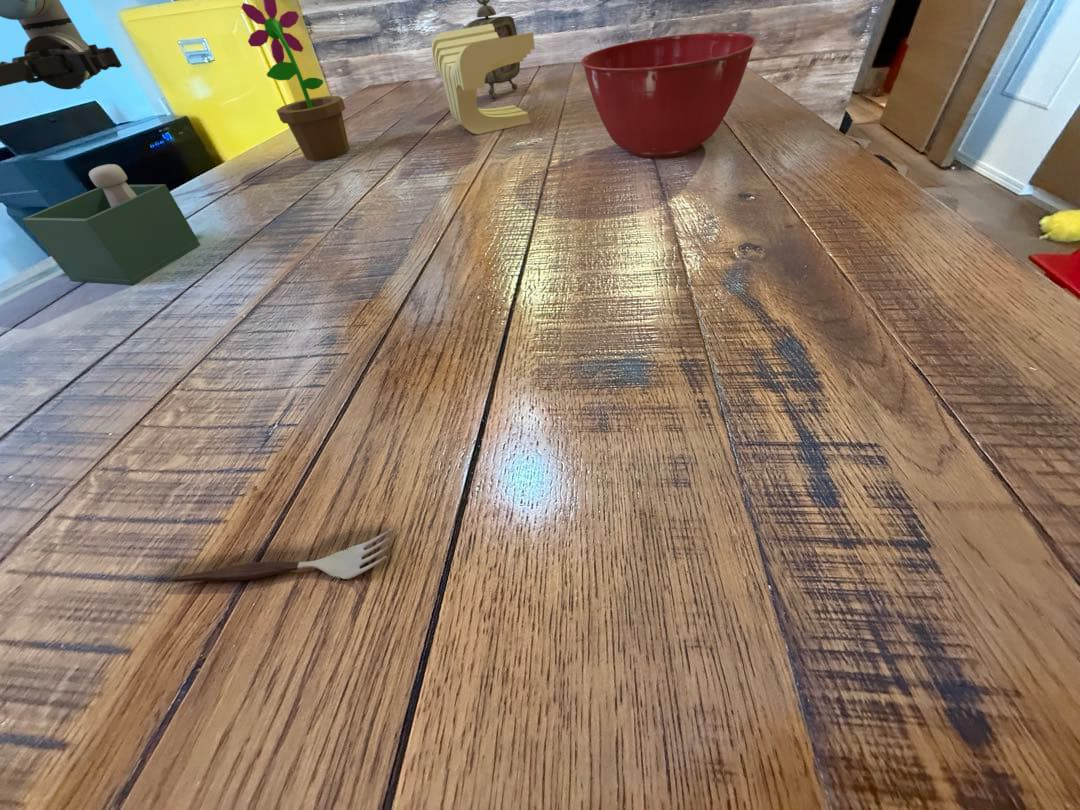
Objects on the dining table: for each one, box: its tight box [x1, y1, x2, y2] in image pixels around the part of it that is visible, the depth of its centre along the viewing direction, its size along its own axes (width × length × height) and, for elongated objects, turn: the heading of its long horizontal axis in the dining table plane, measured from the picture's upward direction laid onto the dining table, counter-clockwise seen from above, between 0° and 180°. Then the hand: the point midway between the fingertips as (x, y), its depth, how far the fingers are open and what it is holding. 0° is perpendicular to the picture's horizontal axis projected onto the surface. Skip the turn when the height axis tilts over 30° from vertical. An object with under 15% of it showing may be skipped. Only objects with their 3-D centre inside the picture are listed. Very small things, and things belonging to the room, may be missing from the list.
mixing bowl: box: [580, 32, 757, 159], centre depth 90 cm, size 28×28×16 cm
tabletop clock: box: [463, 0, 521, 101], centre depth 138 cm, size 14×9×25 cm, turn 149°
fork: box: [171, 528, 393, 583], centre depth 35 cm, size 3×16×2 cm, turn 93°
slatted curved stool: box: [430, 24, 536, 135], centre depth 117 cm, size 30×16×18 cm, turn 20°
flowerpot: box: [241, 0, 350, 162], centre depth 109 cm, size 14×14×30 cm
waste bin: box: [21, 183, 201, 286], centre depth 79 cm, size 13×13×10 cm
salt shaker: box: [88, 163, 137, 207], centre depth 78 cm, size 6×6×13 cm
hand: (33, 74), depth 73 cm, fingers open, 13 cm apart
